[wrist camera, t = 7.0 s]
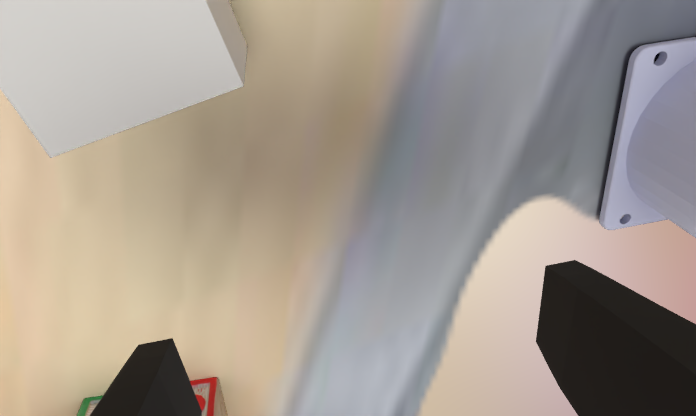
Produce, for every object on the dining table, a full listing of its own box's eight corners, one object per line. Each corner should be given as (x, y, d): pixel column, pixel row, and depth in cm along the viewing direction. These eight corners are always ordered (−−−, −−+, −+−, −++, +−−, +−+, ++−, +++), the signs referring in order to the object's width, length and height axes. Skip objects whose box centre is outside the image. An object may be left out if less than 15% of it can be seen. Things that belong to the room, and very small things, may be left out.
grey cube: (173, -132, 13) (132, -164, 9) (247, 45, 16) (243, 86, 12) (5, -68, 13) (-114, -70, 9) (106, 98, 16) (50, 157, 12)
